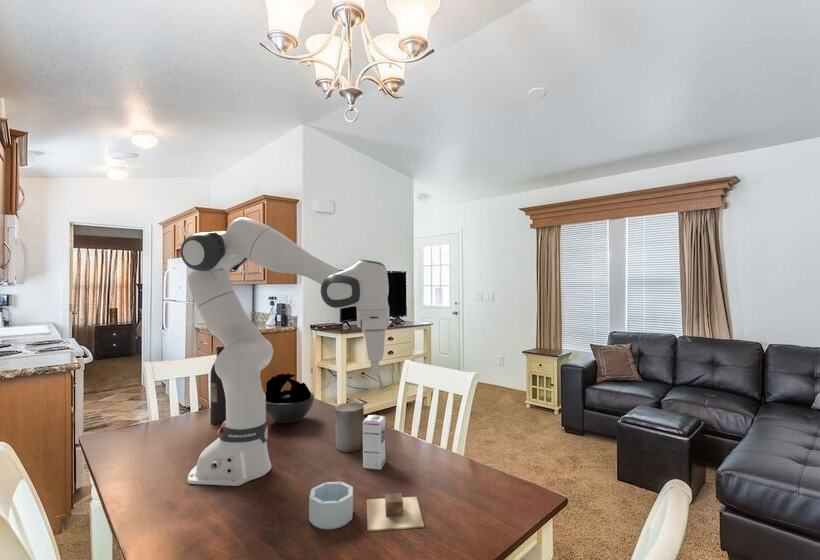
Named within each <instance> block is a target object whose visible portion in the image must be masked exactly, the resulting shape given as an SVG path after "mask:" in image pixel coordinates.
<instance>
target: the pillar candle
mask: <svg viewBox="0 0 820 560" xmlns="http://www.w3.org/2000/svg"><path fill="white" fill-rule="evenodd" d="M334 408H335V411H334V412H335V413H334V414H335V449H337V450H338V451H340V452H343V453H344V452H345V453H351V452H357V451H359V450H363V421H364V420H365V418H364V417H365V414H364V413H365V411H364V410H365V409H364V408H365V407H364V405H363V404H362V403H360V402H344V403H340V404H337V405H336V406H335V407H334Z"/></svg>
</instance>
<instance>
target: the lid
mask: <svg viewBox="0 0 820 560" xmlns="http://www.w3.org/2000/svg"><path fill="white" fill-rule="evenodd" d="M384 495H385V497H383V498H371V499H370V498H368V499H367V498H366V518H367V519H366V522H367V532H376V531H377V532H378V531H379V532H380V531H391V530H392V531H393V530H408V529H423V528H425V525H424V520H423V517H422V512H421V507H420V505H419V500H418V496H406V497H405V496H403V495H402V492H397V493H394V492H393V493H385V494H384Z"/></svg>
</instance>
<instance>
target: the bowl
mask: <svg viewBox="0 0 820 560" xmlns="http://www.w3.org/2000/svg"><path fill="white" fill-rule="evenodd" d="M308 499H309V500H308V511H309V512H308V514H309V515H308V519H309V520H308V521H309V522H310V523H311V525H312V526H313V527H315V528H318V529H320V530H334V529H335V530H336V529H340V528H342V527H344V526H346V525H348V524H349V523H350V522H351V521H352V519H353V512H354V510H353V509H354V487H353V486H352V485H350V484H349V483H345V482H344V481H328V482H327V481H326V482H325V481H324V482H322V483H320V484H319V485H316V486H314V487H312V488H311V490H310V493H309V498H308Z"/></svg>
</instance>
